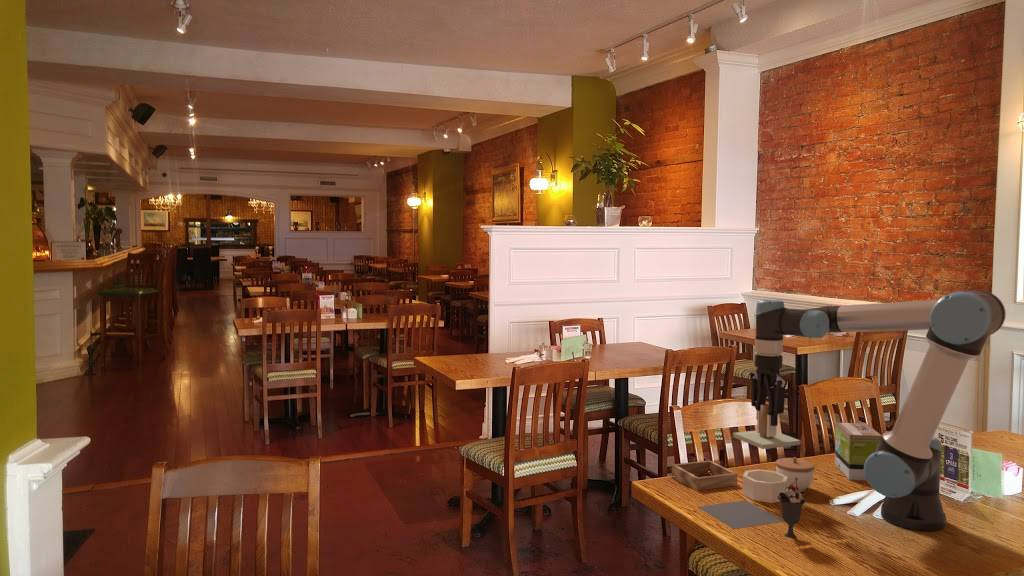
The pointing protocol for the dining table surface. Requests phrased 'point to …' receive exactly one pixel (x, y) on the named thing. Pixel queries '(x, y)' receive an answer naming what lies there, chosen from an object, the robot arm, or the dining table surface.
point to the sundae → (791, 507)
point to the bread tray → (689, 470)
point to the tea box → (854, 448)
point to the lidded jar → (796, 471)
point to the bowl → (764, 485)
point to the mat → (740, 514)
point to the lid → (766, 434)
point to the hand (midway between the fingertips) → (766, 434)
